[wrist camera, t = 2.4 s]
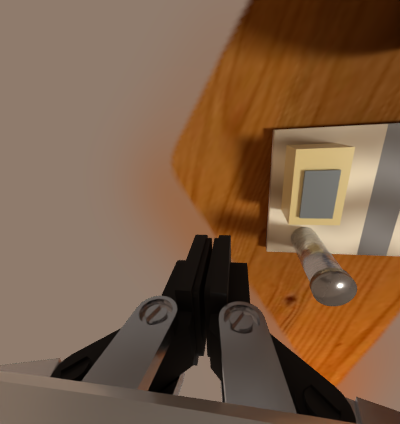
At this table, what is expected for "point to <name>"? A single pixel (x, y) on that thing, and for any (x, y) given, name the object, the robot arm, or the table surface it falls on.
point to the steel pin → (322, 269)
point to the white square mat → (356, 190)
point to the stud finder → (316, 183)
